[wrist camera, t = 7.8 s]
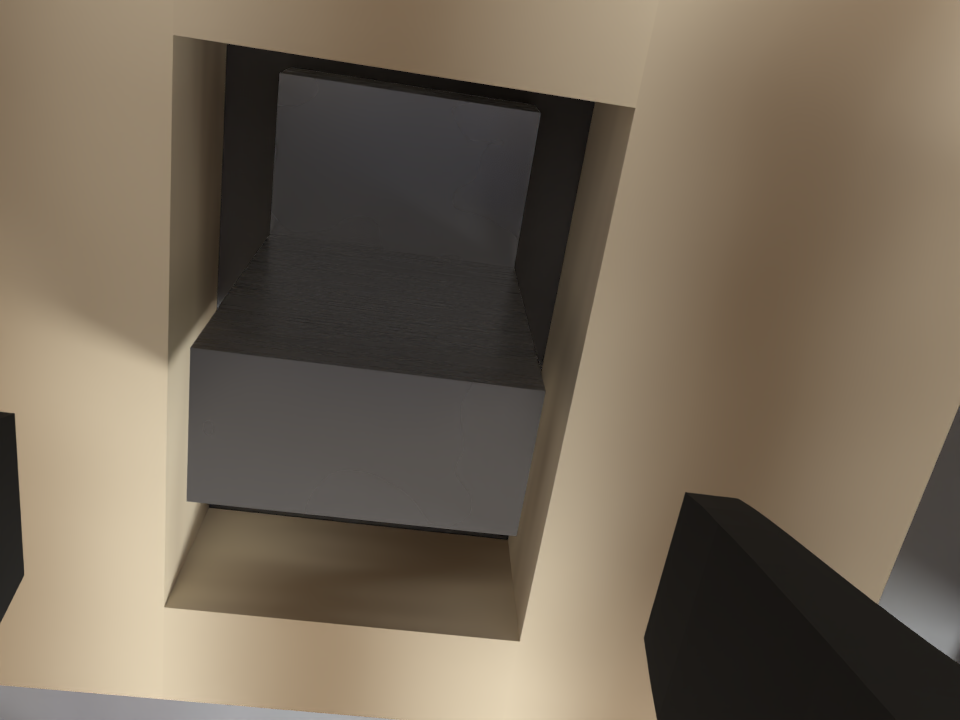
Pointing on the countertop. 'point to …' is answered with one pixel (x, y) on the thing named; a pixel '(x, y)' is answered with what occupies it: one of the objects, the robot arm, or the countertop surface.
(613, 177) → the well block
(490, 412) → the t bracket
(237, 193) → the countertop surface
